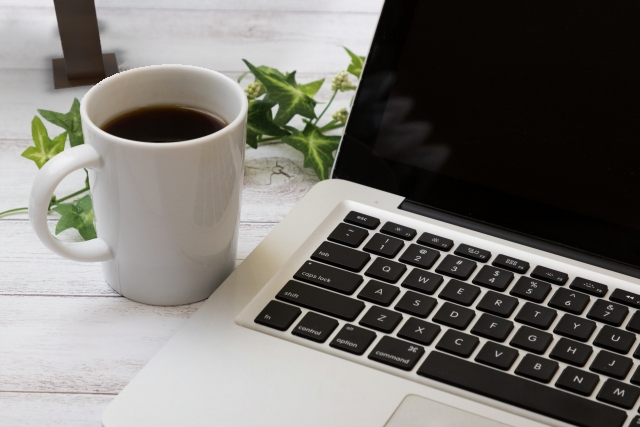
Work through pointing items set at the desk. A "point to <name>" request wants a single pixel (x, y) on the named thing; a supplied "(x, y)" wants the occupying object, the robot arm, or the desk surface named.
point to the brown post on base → (80, 46)
